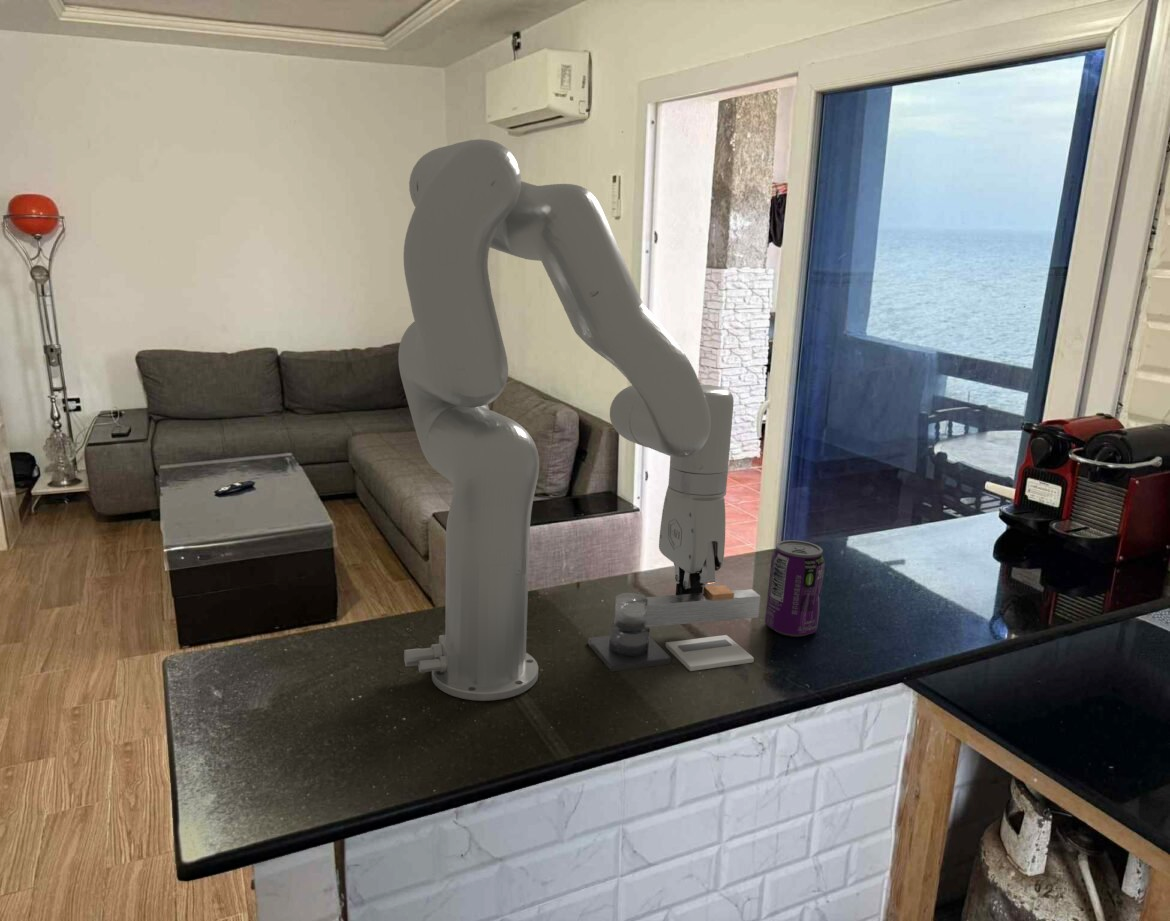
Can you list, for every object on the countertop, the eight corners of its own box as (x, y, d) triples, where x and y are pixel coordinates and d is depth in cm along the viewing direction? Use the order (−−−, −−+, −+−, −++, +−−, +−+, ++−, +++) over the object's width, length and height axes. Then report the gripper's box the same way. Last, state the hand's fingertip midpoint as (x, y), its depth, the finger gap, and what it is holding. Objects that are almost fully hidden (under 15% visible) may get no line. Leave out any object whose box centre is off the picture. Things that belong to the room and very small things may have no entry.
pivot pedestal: (611, 671, 105) (612, 645, 105) (588, 643, 113) (589, 618, 112) (670, 663, 108) (672, 637, 107) (643, 636, 115) (645, 612, 115)
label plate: (690, 671, 106) (690, 665, 106) (665, 646, 113) (665, 641, 113) (753, 662, 110) (754, 656, 109) (725, 639, 116) (726, 633, 116)
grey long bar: (620, 632, 107) (622, 603, 106) (610, 619, 111) (611, 591, 110) (761, 619, 113) (764, 592, 112) (747, 607, 116) (749, 581, 116)
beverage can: (818, 643, 116) (828, 558, 113) (764, 636, 117) (773, 552, 115) (815, 622, 123) (824, 542, 120) (764, 616, 124) (772, 536, 121)
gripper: (646, 468, 117) (638, 594, 122) (700, 498, 104) (689, 638, 108) (695, 465, 120) (686, 589, 124) (753, 494, 107) (741, 631, 111)
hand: (687, 612), depth 116 cm, fingers closed
